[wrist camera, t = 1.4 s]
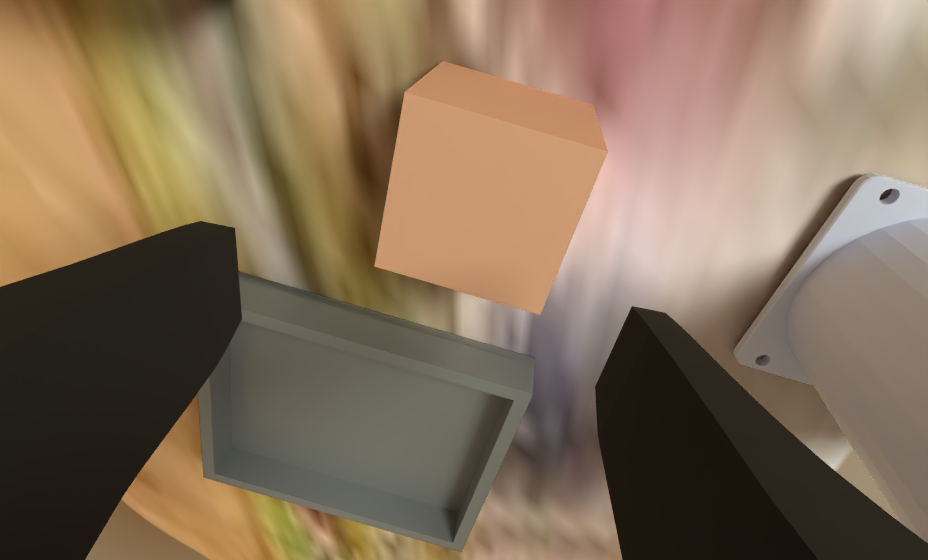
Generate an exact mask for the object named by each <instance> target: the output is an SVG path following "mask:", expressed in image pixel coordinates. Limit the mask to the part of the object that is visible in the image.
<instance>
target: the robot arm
mask: <svg viewBox="0 0 928 560" xmlns="http://www.w3.org/2000/svg"><path fill="white" fill-rule="evenodd" d="M888 189H892V192H891V194H890V195H889V196H888V197H887V198H885V199H882V200H880V199H879V198H880V196H881V194H882V193H883V192H884V191H886V190H888ZM241 320H242V311H241V298H240V286H239V273H238V261H237V248H236V236H235V228H232V227H227V226H222V225H217V224H212V223H207V222H202V221H199V222H195V223H191V224H187V225H184V226H181V227H177V228H174V229H171V230H168V231H165V232H162V233H159V234H156V235H153V236H151V237H148V238H145V239H142V240H139V241H136V242H134V243H131V244H128V245H125V246H122V247H119V248H117V249H114V250H111V251H108V252H105V253H102V254H99V255H97V256H94V257H91V258H88V259H85V260H82V261H80V262H77V263H74V264H71V265H68V266H65V267H62V268H58V269H55V270H52V271H49V272H46V273H43V274H40V275H36V276H33V277H30V278H27V279H24V280H21V281H18V282H14V283H11V284H8V285H5V286H2V287H0V560H85V559H86V557H87V555H88V553H89V552H90V550H91V548H92V547H93V545H94V543H95V542H96V540H97V538H98V537H99V535H100V533H101V532H102V530H103V528H104V527H105V525H106V523H107V522H108V520H109V518H110V517H111V515H112V513H113V511H114V510H115V508H116V507H117V505H118V503H119V501H120V500H121V498H122V497H123V495H124V494H125V492H126V491H127V489H128V488H129V486H130V485H131V483H132V482H133V480H134V479H135V477H136V476H137V475H138V473H139V472H140V470H141V469H142V467H143V466H144V465H145V463H146V462H147V461H148V459H149V458H150V457H151V455H152V454H153V453H154V451H155V450H156V449H157V447H158V446H159V444H160V443H161V442H162V440H163V439H164V438H165V436H166V435H167V434H168V432H169V431H170V430H171V428H172V427H173V426H174V424H175V423H176V421H177V420H178V419H179V417H180V416H181V415H182V413H183V412H184V411H185V409H186V408H187V407H188V405H189V404H190V403H191V401H192V400H193V398H194V397H195V396H196V394H197V393H198V392H199V390H200V389H201V387H202V386H203V385H204V383H205V382H206V380H207V379H208V378H209V376H210V375H211V374H212V372H213V371H214V369H215V368H216V366H217V365H218V363H219V362H220V360H221V358H222V356H223V354H224V353H225V351H226V349H227V347H228V345H229V344H230V342H231V340H232V338H233V336H234V334H235V332H236V330H237V328H238V326H239V324H240V322H241ZM761 355H766V356H765V357H764V358H761V359H756V358H757V357H759V356H761ZM734 356H735V358H736V360H737V362H738V363H739V364H741V365H744V366H747V367H750V368H754V369H757V370H761V371H764V372H768V373H771V374H774V375H778V376H781V377H785V378H788V379H791V380H795V381H798V382H802V383H805V384H809V385H812V386H814V388H815V390H816V391H817V393H818V394H819V396H820V397H821V399H822V401H823V402H824V404H825V405H826V407H827V408H828V410H829V412H830V413H831V415H832V416H833V418H834V420H835V421H836V423H837V424H838V426H839V427H840V429H841V431H842V432H843V434H844V435H845V437H846V438H847V440H848V442H849V443H850V445H851V446H852V448H853V450H854V451H855V453H856V454H857V456H858V457H859V459H860V461H861V462H862V464H863V465H864V467H865V468H866V470H867V471H868V473H869V475H870V476H871V478H872V479H873V481H874V483H875V484H876V486H877V487H878V489H879V491H880V492H881V494H882V495H883V497H884V498H885V500H886V502H887V503H888V505H889V506H890V508H891V509H892V511H893V513H894V514H895V516H896V517H897V519H898V521H897V520H896V519H894V518H893V517H892V516H891V515H889V514H888V513H887V512H885V511H884V510H883V509H882V508H881V507H879V506H878V505H877V504H876V503H874V502H873V501H872V500H870V499H869V498H868V497H867V496H865V495H864V494H863V493H862V492H860V491H859V490H858V489H857V488H855V487H854V486H853V485H852V484H850V483H849V482H848V481H847V480H845V479H844V478H843V477H842V476H840V475H839V474H838V473H837V472H836V471H834V470H833V469H832V468H831V467H830V466H828V465H827V464H826V463H825V462H824V461H822V460H821V459H820V458H819V457H818V456H817V455H815V454H814V453H813V452H812V451H811V450H810V449H809V448H808V447H806V446H805V445H804V444H803V443H802V442H801V441H800V440H799V439H797V438H796V437H795V436H794V435H793V434H792V433H791V432H790V431H788V430H787V429H786V428H785V427H784V426H783V425H782V424H781V423H780V422H778V421H777V420H776V419H775V418H774V417H773V416H772V415H771V414H770V413H769V412H768V411H767V410H766V409H765V408H763V407H762V406H761V405H760V404H759V403H758V402H757V401H756V400H755V399H754V398H753V397H752V396H751V395H750V394H749V393H748V392H747V391H746V390H745V389H744V388H743V387H742V386H741V385H740V384H739V383H738V382H736V381H735V380H734V379H733V378H732V377H731V376H730V375H729V374H728V373H727V372H726V371H725V370H724V369H723V368H722V367H721V366H720V365H719V364H718V363H717V362H716V361H715V360H714V359H713V358H712V357H711V356H710V355H709V354H708V353H707V352H706V351H705V350H704V349H703V348H702V347H701V346H700V345H699V344H698V343H697V342H696V341H695V340H694V339H693V338H692V337H691V336H690V335H689V334H688V333H687V332H686V331H685V330H684V329H683V328H682V327H681V326H680V325H679V324H677V323H676V322H675V321H674V320H673V319H672V318H671V317H669V316H668V315H667V314H666V313H663V312H658V311H653V310H648V309H643V308H638V307H633V306H632V307H631V310H630V312H629V314H628V316H627V318H626V321H625V323H624V325H623V327H622V329H621V332H620V334H619V336H618V338H617V340H616V343H615V345H614V347H613V349H612V351H611V354H610V356H609V358H608V360H607V362H606V365H605V367H604V369H603V371H602V373H601V376H600V378H599V380H598V382H597V384H596V387H595V388H596V411H597V426H598V437H599V443H600V449H601V454H602V459H603V464H604V469H605V474H606V480H607V485H608V489H609V494H610V499H611V504H612V509H613V514H614V519H615V524H616V529H617V534H618V539H619V544H620V549H621V554H622V559H623V560H928V188H927V187H924V186H920V185H917V184H913V183H910V182H907V181H903V180H900V179H896V178H893V177H890V176H886V175H883V174H879V173H869V174H865V175H863V176H861V177H859V178H858V179H857V180H856V181H855V182H854V183H853V184H852V185H851V187H850V188H849V190H848V191H847V192H846V194H845V195H844V197H843V198H842V199H841V201H840V202H839V204H838V205H837V206H836V208H835V209H834V210H833V212H832V213H831V215H830V216H829V217H828V219H827V220H826V222H825V223H824V224H823V226H822V227H821V229H820V230H819V231H818V233H817V234H816V236H815V237H814V238H813V240H812V241H811V243H810V244H809V245H808V247H807V248H806V249H805V251H804V252H803V254H802V255H801V256H800V258H799V259H798V261H797V262H796V263H795V265H794V266H793V268H792V269H791V270H790V272H789V273H788V275H787V276H786V277H785V279H784V280H783V282H782V283H781V284H780V286H779V287H778V288H777V290H776V291H775V293H774V294H773V295H772V297H771V298H770V300H769V301H768V302H767V304H766V305H765V307H764V308H763V309H762V311H761V312H760V314H759V315H758V316H757V318H756V319H755V321H754V322H753V323H752V325H751V326H750V327H749V329H748V330H747V332H746V333H745V334H744V336H743V337H742V339H741V340H740V341H739V343H738V344H737V346H736V347H735V349H734Z"/></svg>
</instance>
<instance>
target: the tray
mask: <svg viewBox="0 0 928 560" xmlns="http://www.w3.org/2000/svg"><path fill="white" fill-rule="evenodd" d="M238 273H239V286H240V298H241V311H242V320H241V322H240V324H239V326H238V328H237V330H236V332H235V334H234V336H233V338H232V340H231V342H230V344H229V345H228V347H227V349H226V351H225V353H224V354H223V356H222V358H221V360H220V362H219V363H218V365H217V366H216V368H215V369H214V371H213V372H212V374H211V375H210V376H209V378H208V379H207V380H206V382H205V383H204V385H203V386H202V387H201V389H200V390H199V392H198V403H199V418H200V433H201V447H202V462H203V477H204V478H208V479H211V480H215V481H218V482H221V483H225V484H228V485H232V486H235V487H239V488H242V489H246V490H249V491H252V492H256V493H259V494H263V495H266V496H270V497H273V498H277V499H280V500H283V501H287V502H290V503H294V504H297V505H301V506H304V507H308V508H311V509H314V510H318V511H321V512H325V513H328V514H332V515H335V516H339V517H342V518H345V519H349V520H352V521H356V522H359V523H363V524H366V525H370V526H373V527H376V528H380V529H383V530H387V531H390V532H394V533H397V534H401V535H404V536H407V537H411V538H414V539H418V540H421V541H425V542H428V543H432V544H435V545H438V546H442V547H445V548H449V549H452V550H456V551H459V552H462V550H463V547H464V545H465V543H466V541H467V539H468V536H469V534H470V532H471V530H472V528H473V525H474V523H475V521H476V519H477V517H478V514H479V512H480V510H481V508H482V506H483V503H484V501H485V499H486V497H487V495H488V492H489V490H490V488H491V486H492V484H493V481H494V479H495V477H496V475H497V473H498V470H499V468H500V466H501V464H502V462H503V460H504V457H505V455H506V453H507V451H508V449H509V446H510V444H511V442H512V440H513V438H514V435H515V433H516V431H517V429H518V427H519V424H520V422H521V420H522V418H523V416H524V413H525V411H526V409H527V407H528V405H529V402H530V400H531V398H532V396H533V387H534V364H535V358H533V357H529V356H526V355H522V354H519V353H515V352H512V351H509V350H505V349H502V348H498V347H495V346H491V345H488V344H485V343H481V342H478V341H474V340H471V339H467V338H464V337H461V336H457V335H454V334H450V333H447V332H443V331H440V330H437V329H433V328H430V327H426V326H423V325H420V324H416V323H413V322H409V321H406V320H402V319H399V318H396V317H392V316H389V315H385V314H382V313H378V312H375V311H372V310H368V309H365V308H361V307H358V306H354V305H351V304H348V303H344V302H341V301H337V300H334V299H330V298H327V297H324V296H320V295H317V294H313V293H310V292H306V291H303V290H300V289H296V288H293V287H289V286H286V285H282V284H279V283H276V282H272V281H269V280H265V279H262V278H259V277H255V276H252V275H248V274H245V273H241V272H238Z"/></svg>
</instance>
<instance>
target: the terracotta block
mask: <svg viewBox="0 0 928 560" xmlns="http://www.w3.org/2000/svg"><path fill="white" fill-rule="evenodd" d="M607 152H608V151H607V148H606V144H605V141H604V138H603V135H602V132H601V128H600V125H599V122H598V119H597V116H596V113H595V109H594V106H593V105H591V104H587V103H584V102H580V101H577V100H574V99H570V98H567V97H563V96H560V95H557V94H553V93H550V92H546V91H543V90H540V89H536V88H533V87H529V86H526V85H523V84H519V83H516V82H512V81H509V80H506V79H502V78H499V77H495V76H492V75H489V74H485V73H482V72H478V71H475V70H472V69H468V68H465V67H461V66H458V65H455V64H451V63H448V62H444V61H442V62H441V63H440V64H439V65H437V66H436V67H435V68H434V69H432V70H431V71H430V72H429V73H427V74H426V75H425V76H424V77H423V78H421V79H420V80H419V81H418V82H416V83H415V84H414V85H413V86H411V87H410V88H409V89H408V90H407V91H405V93H404V99H403V104H402V110H401V116H400V122H399V128H398V133H397V139H396V145H395V151H394V156H393V162H392V168H391V174H390V180H389V185H388V191H387V197H386V203H385V208H384V214H383V220H382V226H381V231H380V237H379V243H378V249H377V255H376V260H375V266H374V267H378V268H381V269H385V270H388V271H392V272H395V273H398V274H402V275H405V276H409V277H412V278H416V279H419V280H422V281H426V282H429V283H433V284H436V285H440V286H443V287H446V288H450V289H453V290H457V291H460V292H464V293H467V294H470V295H474V296H477V297H481V298H484V299H488V300H491V301H494V302H498V303H501V304H505V305H508V306H511V307H515V308H518V309H522V310H525V311H529V312H532V313H535V314H539V315H540V314H541V311H542V309H543V307H544V304H545V302H546V299H547V297H548V295H549V292H550V290H551V287H552V285H553V282H554V280H555V278H556V275H557V273H558V270H559V268H560V266H561V263H562V261H563V258H564V256H565V254H566V251H567V249H568V246H569V244H570V242H571V239H572V237H573V234H574V232H575V229H576V227H577V225H578V222H579V220H580V217H581V215H582V213H583V210H584V208H585V205H586V203H587V201H588V198H589V196H590V193H591V191H592V189H593V186H594V184H595V181H596V179H597V176H598V174H599V172H600V169H601V167H602V164H603V162H604V160H605V157H606V155H607Z"/></svg>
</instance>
